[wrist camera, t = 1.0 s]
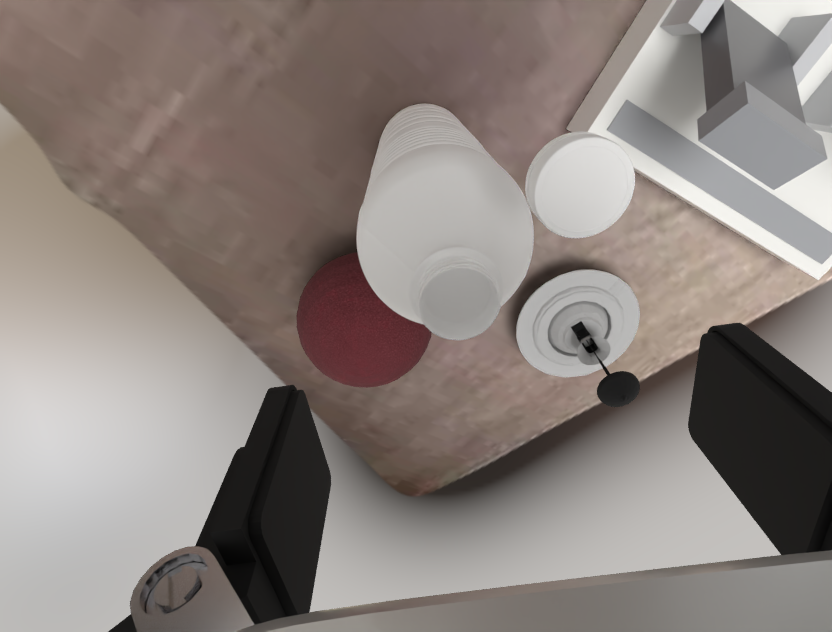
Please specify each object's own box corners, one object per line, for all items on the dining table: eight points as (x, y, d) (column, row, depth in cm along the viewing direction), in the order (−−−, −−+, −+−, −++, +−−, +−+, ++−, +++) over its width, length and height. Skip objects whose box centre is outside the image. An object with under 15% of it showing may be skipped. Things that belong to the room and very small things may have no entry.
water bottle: (425, 213, 37) (459, 437, 15) (360, 154, 35) (289, 315, 13) (509, 124, 34) (702, 240, 12) (444, 54, 32) (535, 41, 10)
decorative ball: (383, 208, 37) (377, 255, 28) (452, 304, 41) (465, 372, 32) (284, 276, 39) (250, 339, 31) (357, 360, 43) (346, 437, 35)
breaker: (729, -24, 26) (748, 102, 21) (794, 26, 27) (827, 159, 22) (690, 15, 28) (698, 140, 23) (752, 61, 29) (773, 190, 24)
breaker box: (754, -172, 27) (861, -242, 21) (988, 38, 32) (1130, 33, 26) (565, 128, 35) (602, 144, 28) (781, 260, 40) (853, 298, 33)
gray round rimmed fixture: (727, 412, 31) (670, 301, 28) (589, 479, 34) (518, 386, 30) (644, 322, 42) (594, 233, 38) (544, 378, 45) (487, 300, 41)
